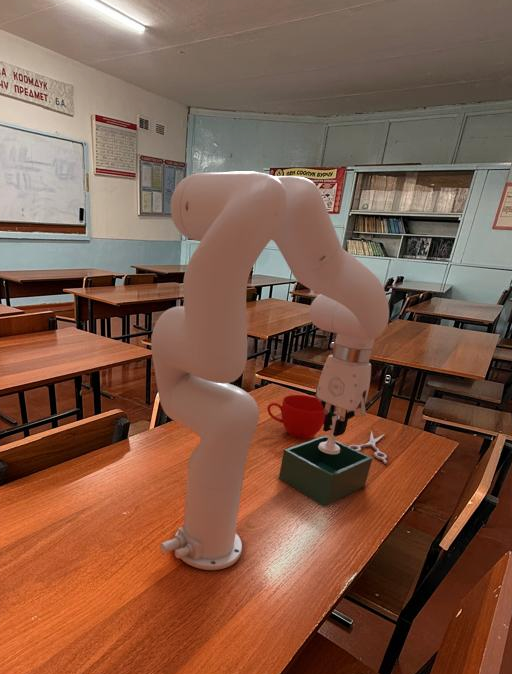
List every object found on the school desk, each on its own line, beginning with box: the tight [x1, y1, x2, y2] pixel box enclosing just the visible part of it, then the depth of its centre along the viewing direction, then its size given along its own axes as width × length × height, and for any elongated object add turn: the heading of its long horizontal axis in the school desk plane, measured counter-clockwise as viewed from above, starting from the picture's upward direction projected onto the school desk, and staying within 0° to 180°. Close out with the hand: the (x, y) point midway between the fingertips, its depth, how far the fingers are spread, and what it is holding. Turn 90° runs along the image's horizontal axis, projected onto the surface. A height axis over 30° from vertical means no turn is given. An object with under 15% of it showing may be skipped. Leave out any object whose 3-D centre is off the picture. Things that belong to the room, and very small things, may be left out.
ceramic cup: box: [267, 394, 326, 440], centre depth 127 cm, size 13×17×10 cm
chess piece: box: [318, 408, 341, 454], centre depth 99 cm, size 5×5×10 cm
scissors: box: [348, 429, 388, 465], centre depth 125 cm, size 11×1×20 cm
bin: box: [278, 435, 374, 507], centre depth 103 cm, size 16×14×8 cm
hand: (333, 431), depth 99 cm, fingers closed on chess piece
